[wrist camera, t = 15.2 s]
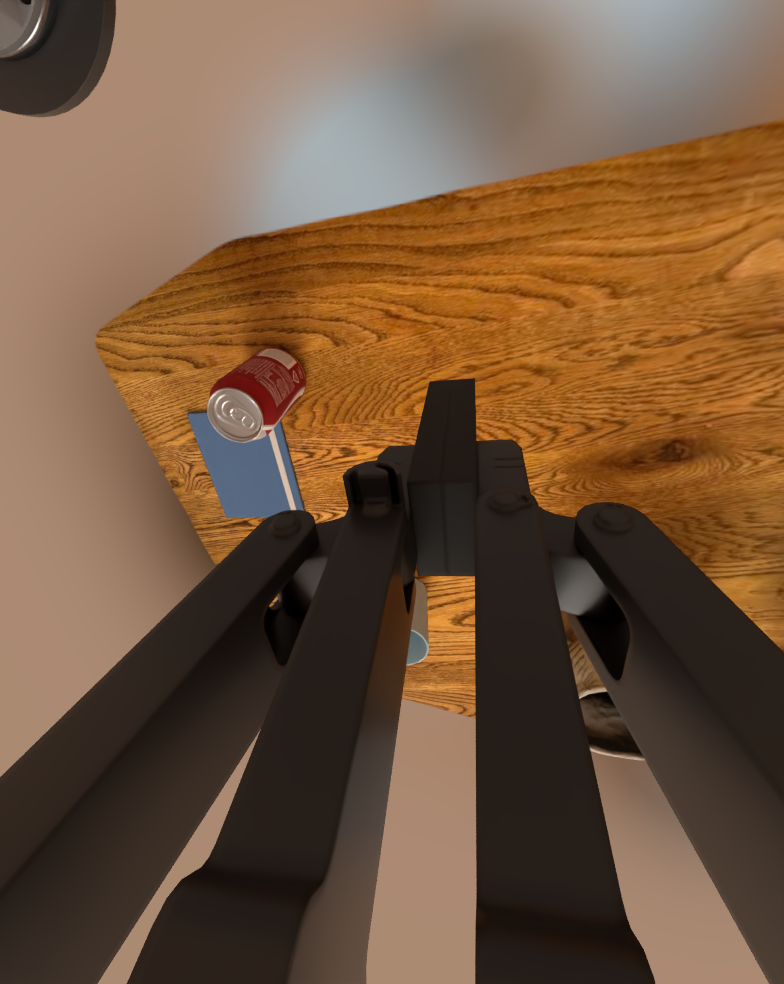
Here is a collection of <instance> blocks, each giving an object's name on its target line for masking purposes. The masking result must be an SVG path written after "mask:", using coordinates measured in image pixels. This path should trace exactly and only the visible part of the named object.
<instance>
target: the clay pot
mask: <svg viewBox="0 0 784 984" xmlns="http://www.w3.org/2000/svg"><path fill="white" fill-rule="evenodd" d="M561 615H562V619H563V624H564V629H565V633H566V638H567V643H568V647H569V652H570V657H571V662H572V666H573V671H574V676H575V680H576V685H577V690H578V694H579V699H580V704H581V709H582V713H583V718H584V723H585V727H586V732H587V737H588V741H589V746H590V751H593V752H596V753H600V754H603V755H608V756H614V757H620V758H627V759H635V760H645V759H644V757H643V755H642V753H641V751H640V750H639V748H638V746H637V744H636V742H635V741H634V739H633V737H632V735H631V733H630V732H629V730H628V728H627V726H626V724H625V723H624V721H623V719H622V717H621V715H620V714H619V712H618V710H617V708H616V706H615V705H614V703H613V701H612V699H611V697H610V695H609V694H608V692H607V690H606V688H605V686H604V685H603V683H602V681H601V679H600V677H599V676H598V674H597V672H596V670H595V668H594V667H593V665H592V663H591V661H590V659H589V658H588V656H587V654H586V652H585V650H584V649H583V647H582V645H581V643H580V641H579V640H578V638H577V636H576V634H575V632H574V631H573V629H572V627H571V625H570V623H569V622H568V619H567V615H566V612H563V611H561ZM645 761H646V760H645Z"/></svg>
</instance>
